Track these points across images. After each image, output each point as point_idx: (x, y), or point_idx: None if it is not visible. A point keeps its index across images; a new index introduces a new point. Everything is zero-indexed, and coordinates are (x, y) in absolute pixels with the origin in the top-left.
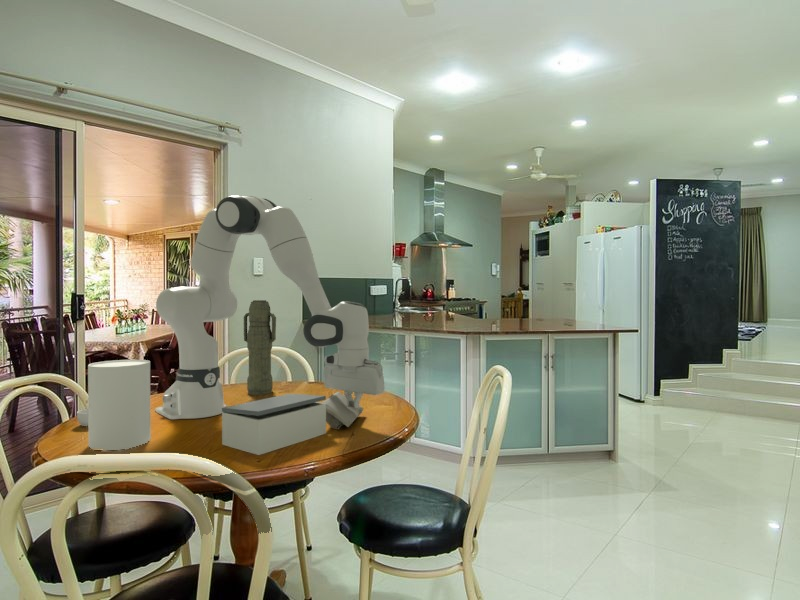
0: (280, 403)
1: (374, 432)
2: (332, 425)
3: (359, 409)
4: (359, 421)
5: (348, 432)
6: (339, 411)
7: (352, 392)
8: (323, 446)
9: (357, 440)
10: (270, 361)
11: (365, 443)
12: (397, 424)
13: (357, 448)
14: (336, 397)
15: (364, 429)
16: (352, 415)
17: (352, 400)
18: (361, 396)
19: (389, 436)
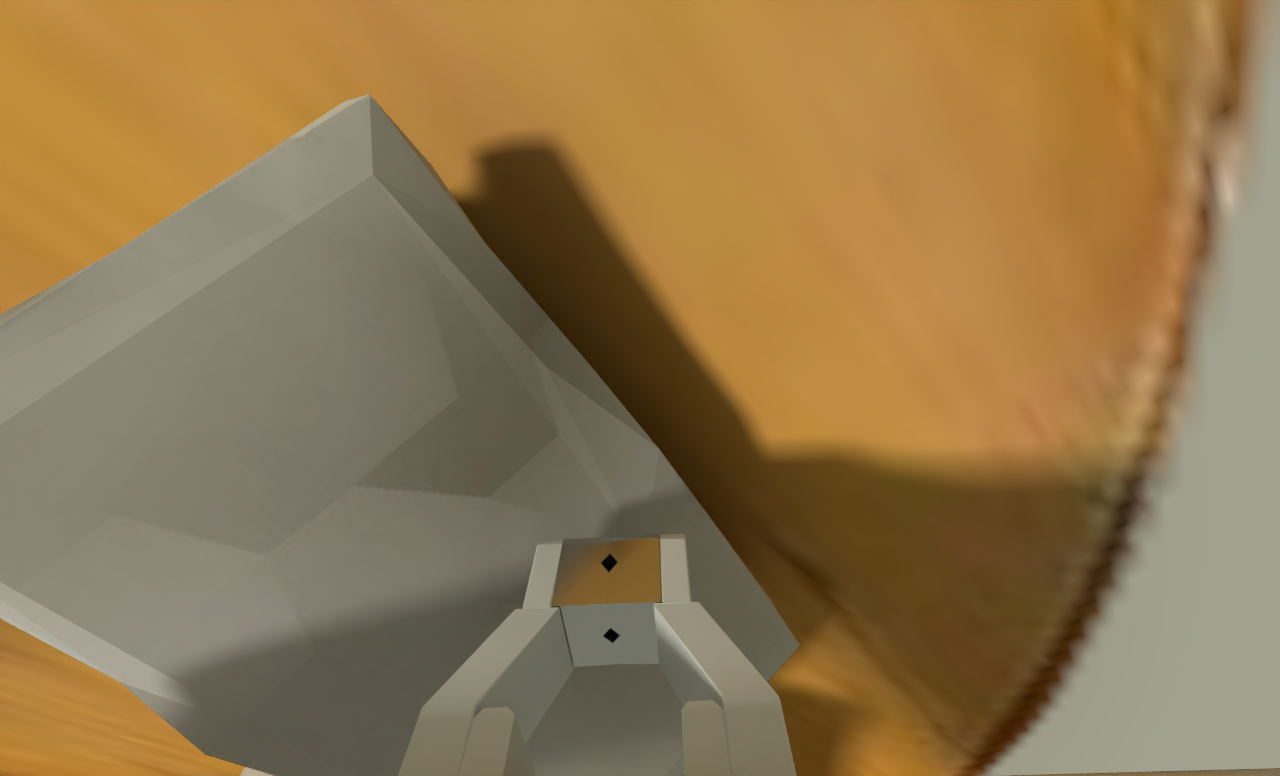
0: None
1: (940, 463)
2: None
3: (501, 314)
4: (555, 281)
5: (750, 563)
6: (673, 733)
7: (513, 739)
8: (812, 746)
9: (923, 629)
10: None
11: (1005, 639)
12: (1056, 71)
13: (1002, 698)
14: (287, 683)
15: (807, 451)
16: (690, 561)
17: (580, 629)
18: (759, 681)
19: (1119, 471)
